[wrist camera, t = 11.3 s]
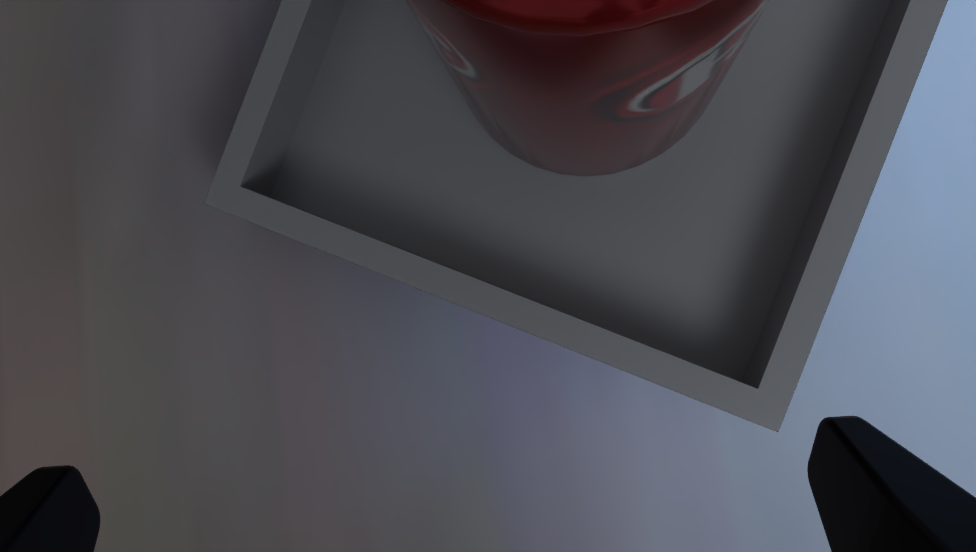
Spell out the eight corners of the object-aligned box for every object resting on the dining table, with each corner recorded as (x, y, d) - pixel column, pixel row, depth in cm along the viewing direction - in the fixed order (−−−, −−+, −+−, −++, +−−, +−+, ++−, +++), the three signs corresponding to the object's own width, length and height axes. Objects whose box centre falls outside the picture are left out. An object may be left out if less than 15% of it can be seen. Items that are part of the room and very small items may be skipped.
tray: (968, -128, 20) (1021, -188, 18) (755, 417, 20) (778, 432, 18) (435, -276, 22) (415, -349, 20) (245, 215, 23) (203, 203, 20)
